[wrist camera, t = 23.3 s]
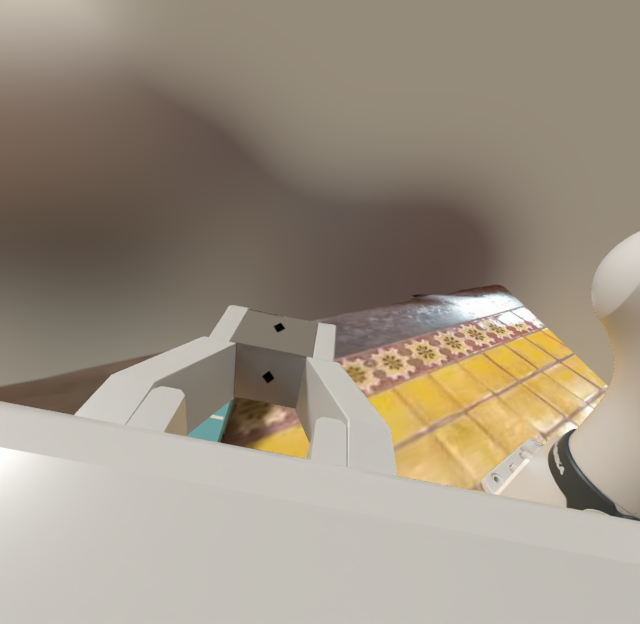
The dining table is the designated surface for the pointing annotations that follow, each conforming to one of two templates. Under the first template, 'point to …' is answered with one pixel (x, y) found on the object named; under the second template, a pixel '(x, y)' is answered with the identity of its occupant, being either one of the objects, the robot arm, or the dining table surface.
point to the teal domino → (213, 425)
